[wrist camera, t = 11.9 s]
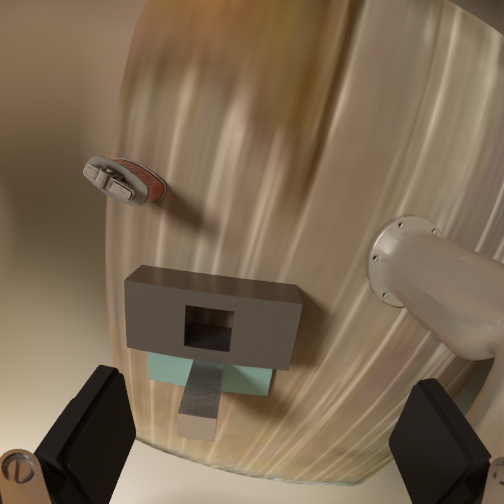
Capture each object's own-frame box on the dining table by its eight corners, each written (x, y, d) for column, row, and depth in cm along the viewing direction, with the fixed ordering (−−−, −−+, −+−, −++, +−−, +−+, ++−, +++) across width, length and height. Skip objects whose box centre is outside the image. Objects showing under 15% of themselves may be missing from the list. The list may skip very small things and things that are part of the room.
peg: (224, 359, 40) (216, 419, 29) (222, 381, 41) (214, 442, 30) (194, 355, 40) (177, 413, 29) (193, 377, 41) (178, 436, 30)
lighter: (109, 176, 35) (67, 178, 25) (121, 152, 34) (81, 147, 25) (159, 206, 36) (128, 217, 26) (172, 182, 35) (144, 185, 26)
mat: (275, 350, 41) (276, 353, 40) (266, 392, 43) (267, 396, 42) (148, 332, 40) (146, 335, 40) (150, 376, 42) (149, 379, 41)
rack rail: (295, 284, 38) (303, 304, 33) (283, 345, 41) (288, 370, 35) (141, 264, 38) (124, 280, 32) (141, 325, 40) (127, 347, 34)
